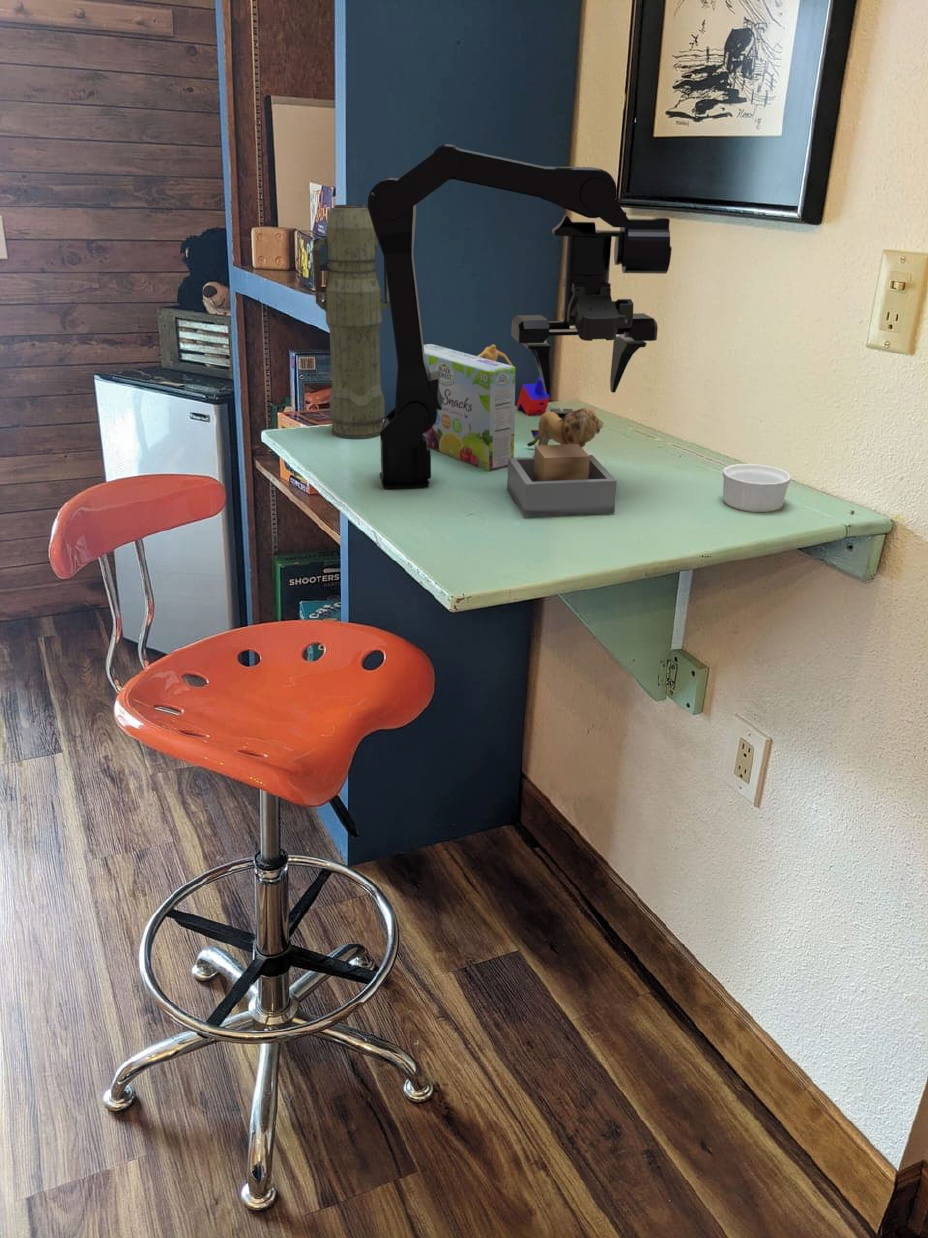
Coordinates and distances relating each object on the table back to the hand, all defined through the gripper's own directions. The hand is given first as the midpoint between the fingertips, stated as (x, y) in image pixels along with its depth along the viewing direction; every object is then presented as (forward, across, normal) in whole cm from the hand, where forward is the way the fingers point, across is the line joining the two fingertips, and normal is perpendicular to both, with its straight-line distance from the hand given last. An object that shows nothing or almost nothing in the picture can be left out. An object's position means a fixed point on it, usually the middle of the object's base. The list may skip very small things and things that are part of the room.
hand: (580, 392), depth 138 cm
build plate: (+14, +4, +26) cm, 30 cm away
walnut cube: (+12, -4, -7) cm, 14 cm away
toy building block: (+13, +3, +42) cm, 44 cm away
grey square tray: (+13, -4, -7) cm, 15 cm away
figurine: (+13, -4, +42) cm, 44 cm away
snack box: (+13, -14, +18) cm, 26 cm away
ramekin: (+13, +22, -11) cm, 28 cm away
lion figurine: (+13, +1, +12) cm, 18 cm away
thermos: (+13, -29, +32) cm, 45 cm away
